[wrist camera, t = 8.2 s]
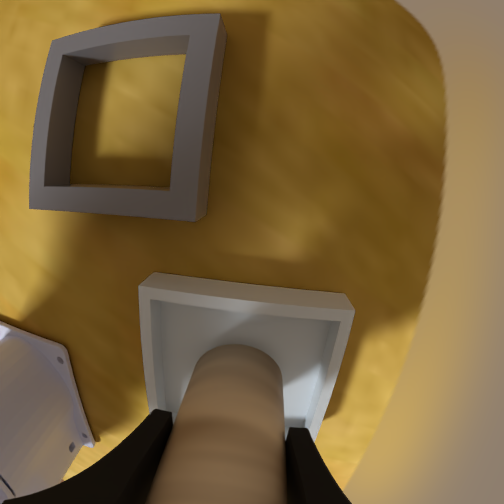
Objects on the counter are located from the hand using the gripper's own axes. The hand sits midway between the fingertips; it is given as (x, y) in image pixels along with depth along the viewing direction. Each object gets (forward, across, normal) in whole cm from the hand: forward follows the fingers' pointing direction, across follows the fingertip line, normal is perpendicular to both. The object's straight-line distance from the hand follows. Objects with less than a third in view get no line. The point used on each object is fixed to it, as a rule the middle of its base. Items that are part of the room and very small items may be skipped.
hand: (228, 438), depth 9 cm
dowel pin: (+3, 0, 0) cm, 3 cm away
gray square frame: (+5, +6, -11) cm, 13 cm away
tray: (+5, 0, 0) cm, 5 cm away
